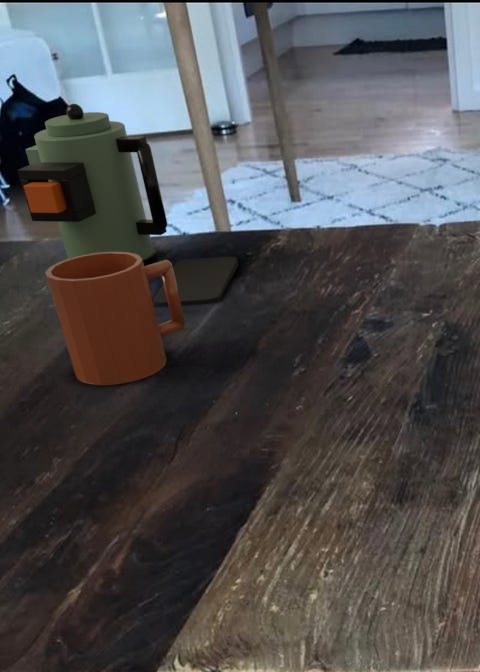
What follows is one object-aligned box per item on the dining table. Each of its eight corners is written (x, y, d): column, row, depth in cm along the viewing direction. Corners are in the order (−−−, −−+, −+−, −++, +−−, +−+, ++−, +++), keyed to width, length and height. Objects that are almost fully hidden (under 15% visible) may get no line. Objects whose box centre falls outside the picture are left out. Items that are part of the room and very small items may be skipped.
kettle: (20, 285, 131) (-30, 120, 120) (87, 250, 141) (45, 95, 131) (138, 289, 127) (96, 119, 116) (197, 253, 137) (164, 93, 126)
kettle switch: (30, 212, 123) (23, 185, 122) (40, 208, 125) (33, 181, 123) (58, 213, 122) (51, 186, 121) (67, 208, 124) (60, 181, 122)
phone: (149, 303, 120) (176, 260, 132) (151, 311, 120) (178, 267, 132) (218, 298, 119) (239, 255, 131) (220, 306, 120) (240, 262, 132)
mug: (108, 397, 101) (77, 286, 95) (60, 377, 106) (28, 270, 100) (215, 355, 108) (192, 249, 102) (165, 338, 113) (141, 236, 107)
